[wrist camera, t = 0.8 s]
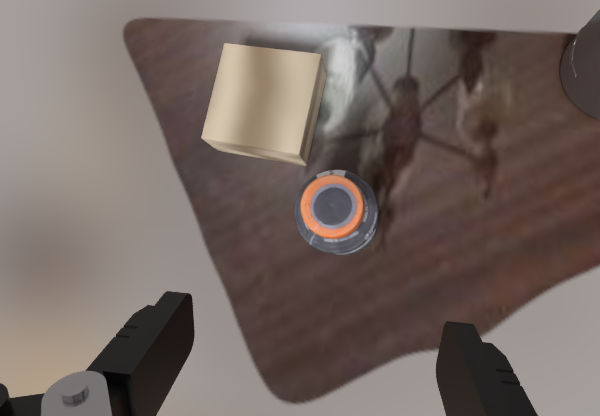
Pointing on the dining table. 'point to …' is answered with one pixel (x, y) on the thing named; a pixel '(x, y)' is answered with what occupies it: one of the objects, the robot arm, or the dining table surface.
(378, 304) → the dining table surface
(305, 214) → the pill bottle
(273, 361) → the dining table surface
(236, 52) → the maple block
